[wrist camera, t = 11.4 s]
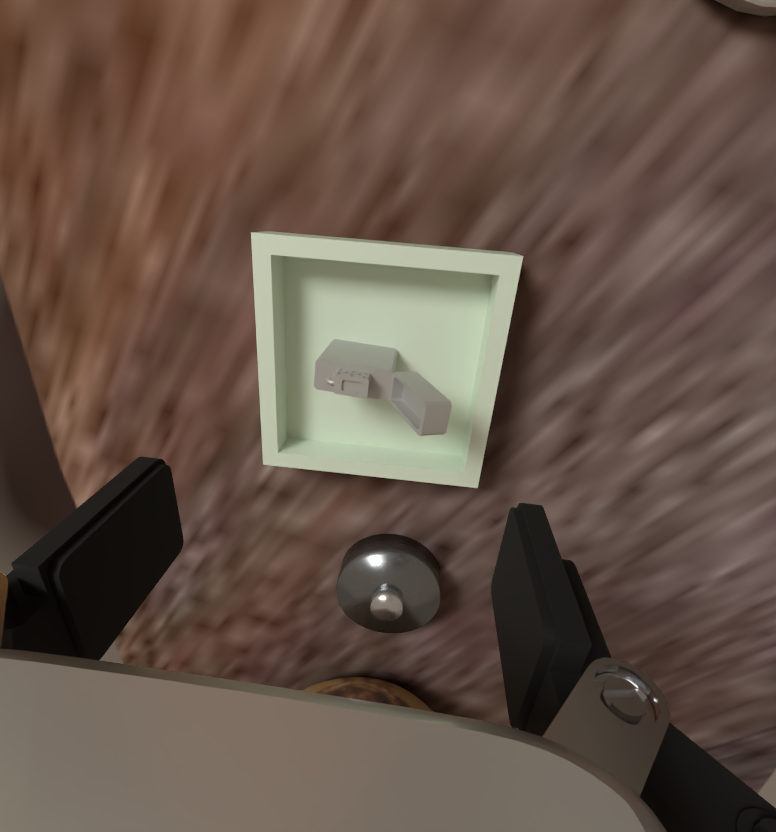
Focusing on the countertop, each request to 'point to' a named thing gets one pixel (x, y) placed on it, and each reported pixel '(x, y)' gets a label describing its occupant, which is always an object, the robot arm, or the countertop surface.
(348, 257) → the tray
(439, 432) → the lighter
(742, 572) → the countertop surface
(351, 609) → the pot lid
